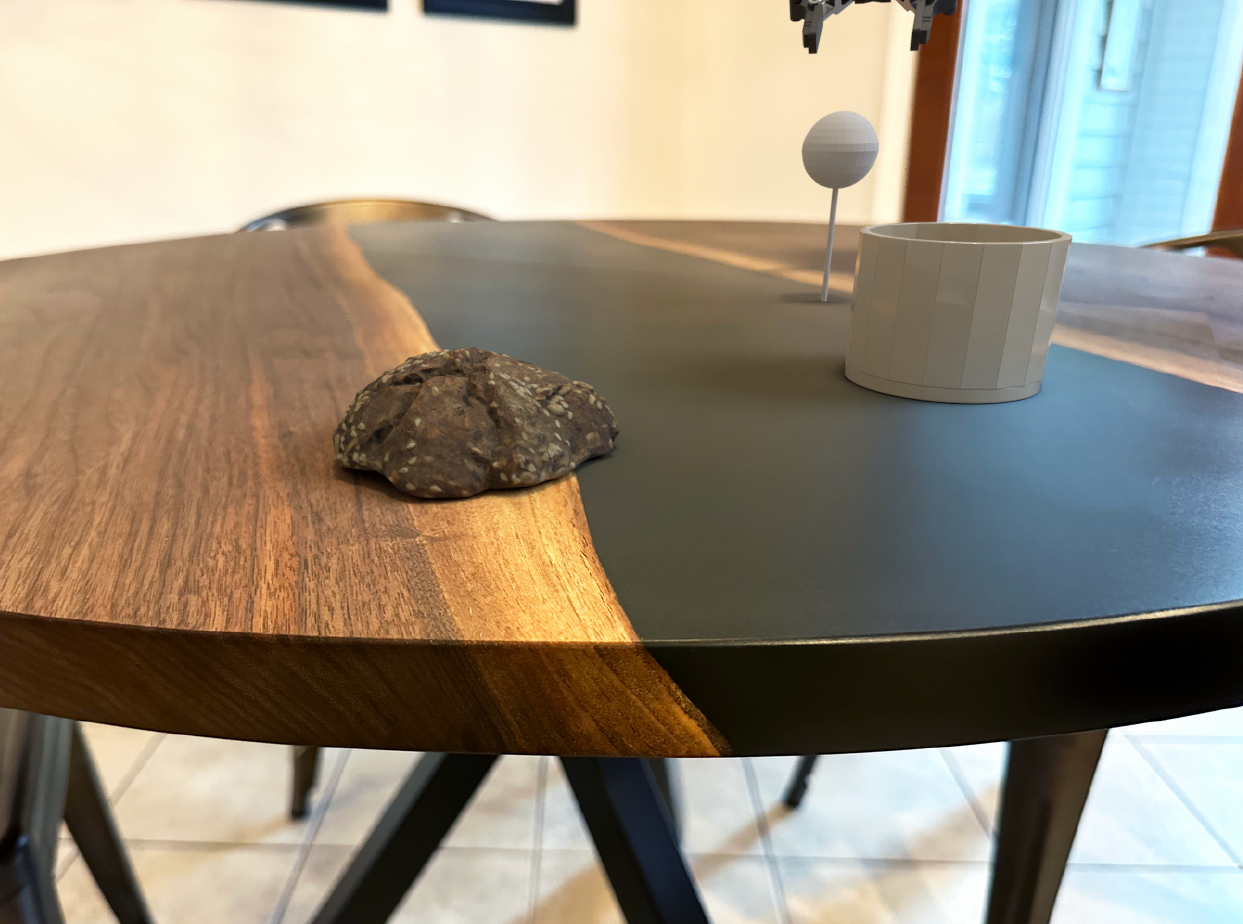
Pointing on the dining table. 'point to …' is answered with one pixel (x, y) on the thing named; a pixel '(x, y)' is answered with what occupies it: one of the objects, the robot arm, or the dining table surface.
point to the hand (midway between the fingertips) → (862, 44)
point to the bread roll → (472, 424)
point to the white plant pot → (954, 309)
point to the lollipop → (838, 161)
